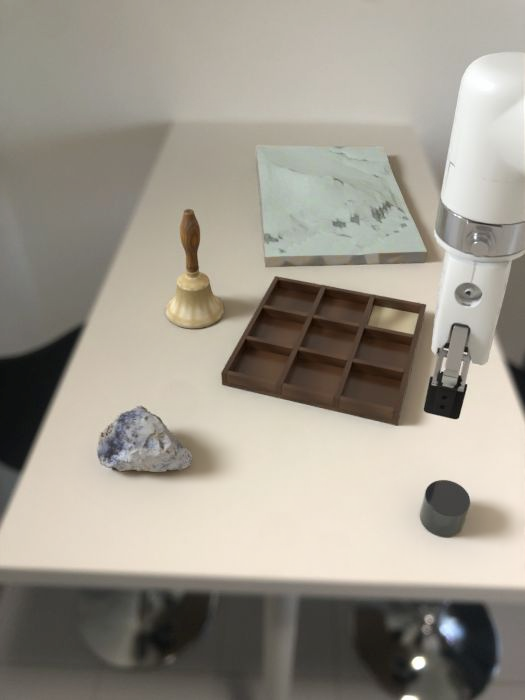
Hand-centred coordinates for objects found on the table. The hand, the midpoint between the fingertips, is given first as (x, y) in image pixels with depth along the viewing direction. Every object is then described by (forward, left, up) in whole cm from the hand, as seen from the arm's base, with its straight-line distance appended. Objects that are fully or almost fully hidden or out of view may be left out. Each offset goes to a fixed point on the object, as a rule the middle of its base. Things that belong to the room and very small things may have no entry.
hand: (448, 379), depth 65 cm
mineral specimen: (+30, +8, -14) cm, 34 cm away
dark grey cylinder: (-2, +6, -14) cm, 15 cm away
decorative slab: (+25, -54, -14) cm, 62 cm away
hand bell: (+35, -19, -14) cm, 42 cm away
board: (+15, -17, -14) cm, 26 cm away
